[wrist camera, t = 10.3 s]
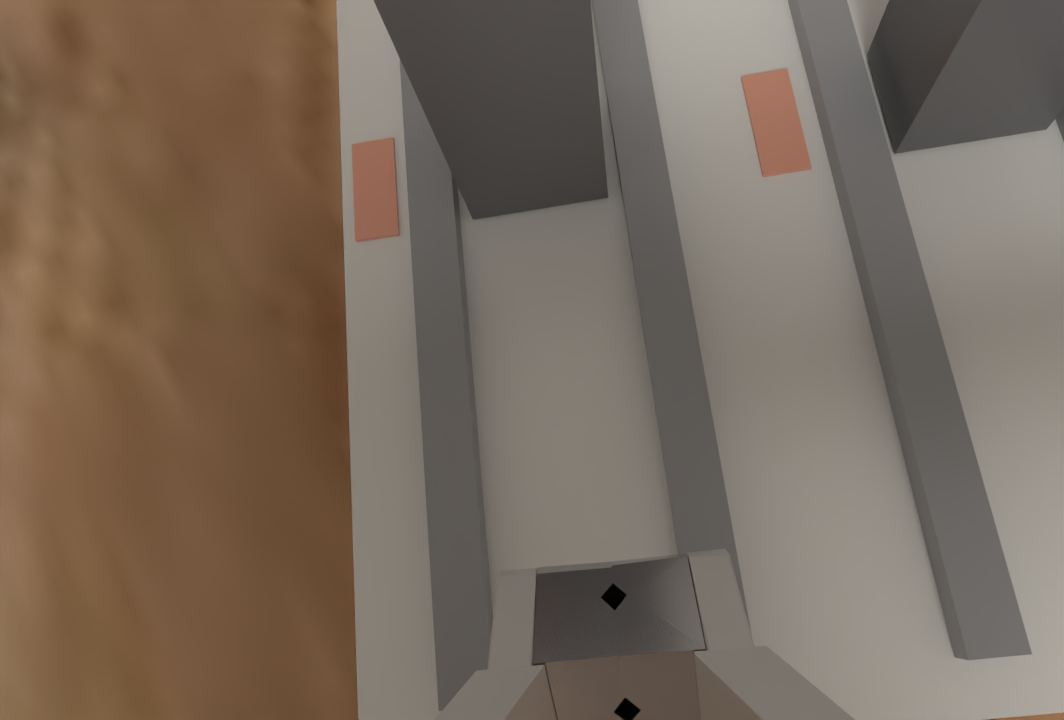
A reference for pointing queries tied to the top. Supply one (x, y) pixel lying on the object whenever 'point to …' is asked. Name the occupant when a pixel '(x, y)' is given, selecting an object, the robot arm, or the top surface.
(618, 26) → the white board with strips
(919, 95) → the switch tab
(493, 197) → the switch tab
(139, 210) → the top surface
